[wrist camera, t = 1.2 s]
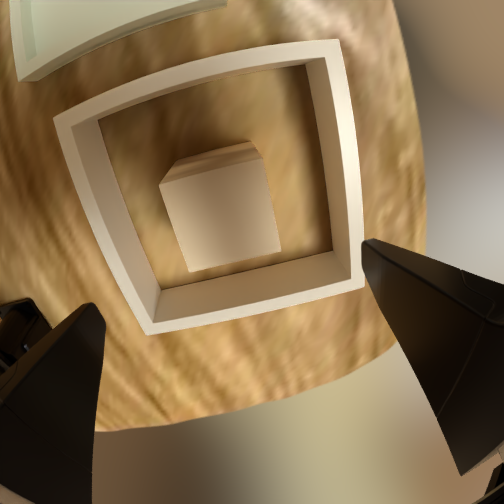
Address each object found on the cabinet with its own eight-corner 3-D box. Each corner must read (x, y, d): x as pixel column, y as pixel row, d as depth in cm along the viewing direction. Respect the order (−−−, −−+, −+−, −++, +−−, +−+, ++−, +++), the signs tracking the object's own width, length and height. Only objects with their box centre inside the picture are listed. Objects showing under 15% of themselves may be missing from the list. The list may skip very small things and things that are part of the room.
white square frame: (155, 302, 24) (146, 335, 20) (81, 112, 16) (52, 117, 12) (345, 258, 23) (364, 286, 20) (316, 49, 16) (338, 39, 12)
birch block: (197, 226, 21) (189, 272, 16) (176, 159, 19) (158, 185, 13) (266, 209, 21) (281, 251, 16) (251, 141, 18) (262, 158, 13)
